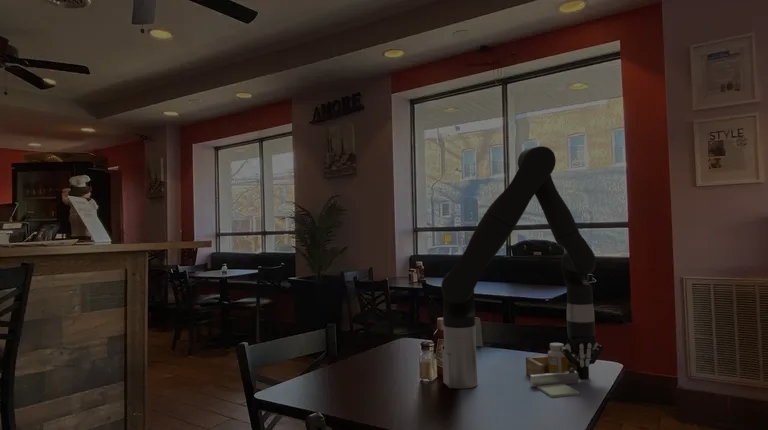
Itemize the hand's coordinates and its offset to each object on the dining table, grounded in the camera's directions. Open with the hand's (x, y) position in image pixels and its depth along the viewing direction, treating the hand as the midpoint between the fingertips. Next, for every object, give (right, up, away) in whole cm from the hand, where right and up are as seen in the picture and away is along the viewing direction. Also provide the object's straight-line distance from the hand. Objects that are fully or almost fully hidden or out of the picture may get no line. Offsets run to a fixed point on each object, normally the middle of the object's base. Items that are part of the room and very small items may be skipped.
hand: (583, 378), depth 149 cm
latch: (-9, -1, -2) cm, 9 cm away
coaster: (-10, -1, -8) cm, 12 cm away
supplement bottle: (-5, -1, +6) cm, 8 cm away
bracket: (-5, -1, +6) cm, 8 cm away
